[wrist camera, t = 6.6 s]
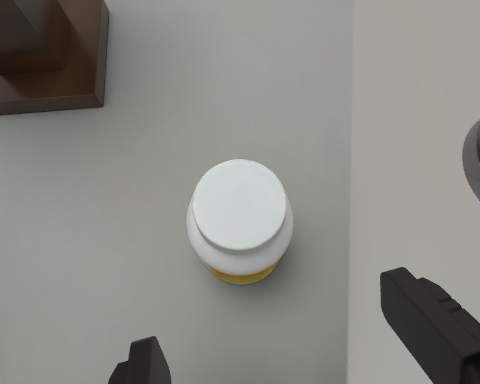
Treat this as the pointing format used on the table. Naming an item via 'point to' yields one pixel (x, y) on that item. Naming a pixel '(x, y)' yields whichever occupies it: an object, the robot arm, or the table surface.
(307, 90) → the table surface
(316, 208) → the table surface
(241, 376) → the table surface
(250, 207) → the supplement bottle
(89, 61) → the pedestal column
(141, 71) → the table surface
